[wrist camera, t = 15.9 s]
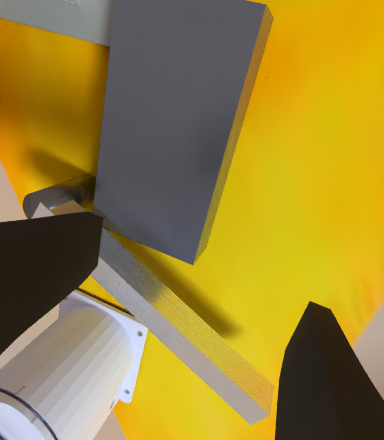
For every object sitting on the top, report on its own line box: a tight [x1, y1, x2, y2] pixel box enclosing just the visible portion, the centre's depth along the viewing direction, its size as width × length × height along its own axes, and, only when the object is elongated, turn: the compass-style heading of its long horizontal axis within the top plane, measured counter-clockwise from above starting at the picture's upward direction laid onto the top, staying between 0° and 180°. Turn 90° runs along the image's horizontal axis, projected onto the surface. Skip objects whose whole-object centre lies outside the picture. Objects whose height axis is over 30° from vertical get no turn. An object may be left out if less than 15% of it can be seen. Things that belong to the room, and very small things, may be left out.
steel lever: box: [23, 175, 274, 425], centre depth 20 cm, size 2×18×5 cm, turn 52°
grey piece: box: [93, 0, 273, 265], centre depth 18 cm, size 13×7×2 cm, turn 166°
